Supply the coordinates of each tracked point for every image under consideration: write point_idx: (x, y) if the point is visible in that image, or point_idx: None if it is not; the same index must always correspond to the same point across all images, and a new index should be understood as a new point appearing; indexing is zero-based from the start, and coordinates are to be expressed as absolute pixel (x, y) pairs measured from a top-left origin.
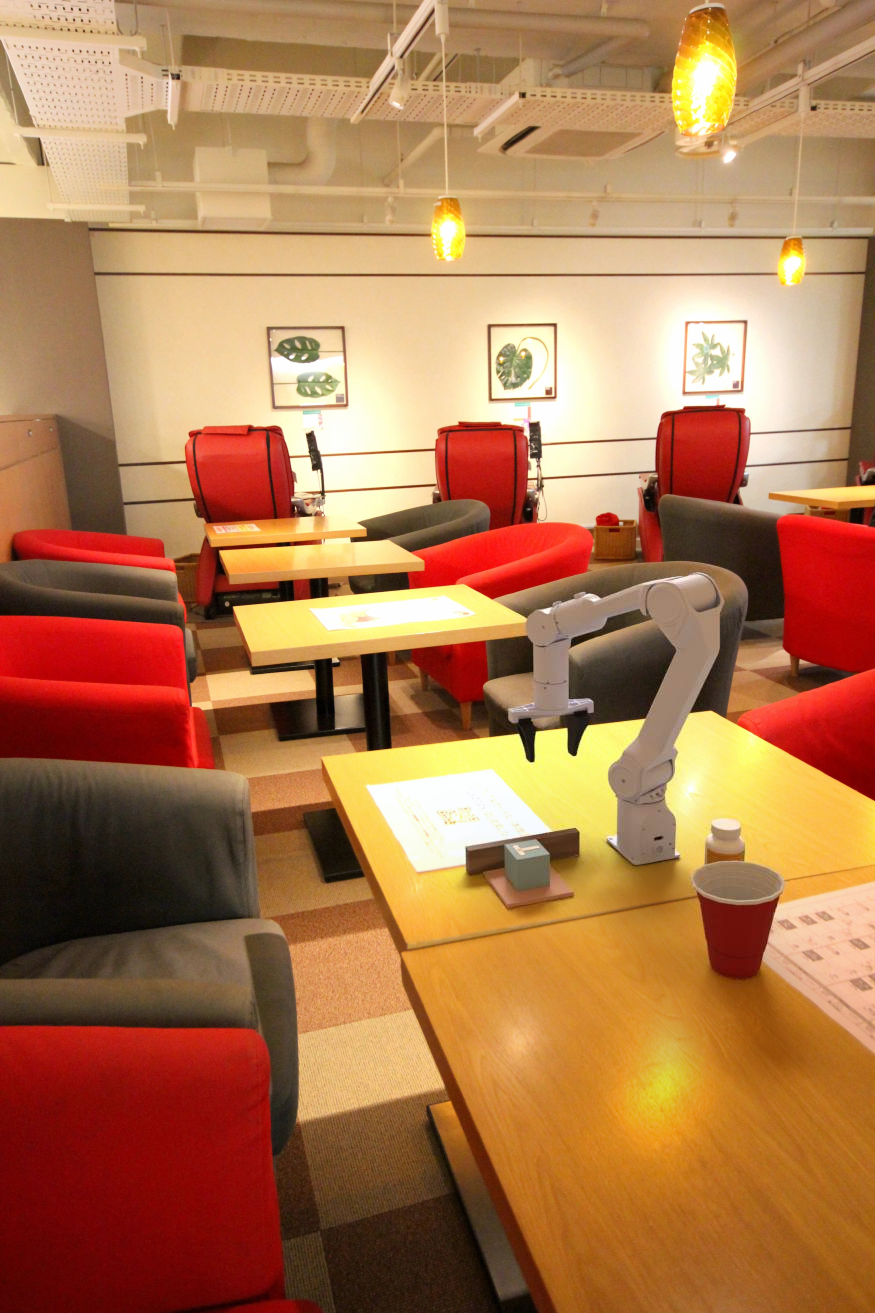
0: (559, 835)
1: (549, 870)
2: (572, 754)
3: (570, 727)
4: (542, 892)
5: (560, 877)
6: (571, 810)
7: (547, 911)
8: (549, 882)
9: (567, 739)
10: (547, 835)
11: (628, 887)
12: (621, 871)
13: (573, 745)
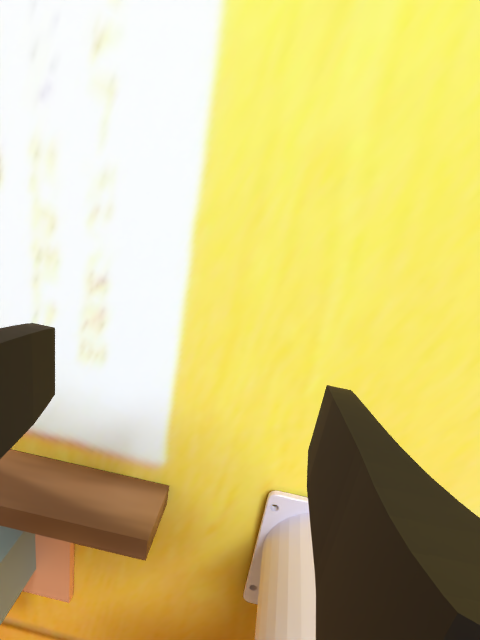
0: (86, 545)
1: (13, 602)
2: (310, 450)
3: (353, 578)
4: None
5: (69, 560)
6: (316, 289)
7: None
8: (31, 575)
9: (345, 423)
10: (55, 531)
11: (182, 626)
12: (208, 588)
13: (314, 507)
